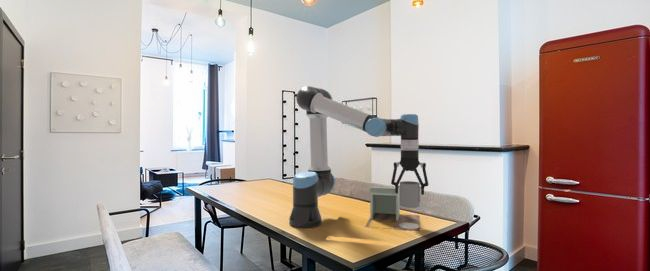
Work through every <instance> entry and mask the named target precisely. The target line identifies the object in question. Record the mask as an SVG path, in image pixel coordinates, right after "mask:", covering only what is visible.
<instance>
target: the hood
mask: <svg viewBox="0 0 650 271" xmlns="http://www.w3.org/2000/svg"><path fill="white" fill-rule="evenodd" d="M369 188H370V190H369V191H370V194H369V196H370V198H369V200H370V208H369V210H370V211H369V212H370V214H369V215H370V216H369V218H370V219H373V217H374V215H375V213H384V214H396V221H398V220H399V214H401V213H400V211H401V210H400V207H401V206H400V202H399V201H398V193H395V187H384V186H383V187H382V186H381V187H380V186H370V187H369Z"/></svg>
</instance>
